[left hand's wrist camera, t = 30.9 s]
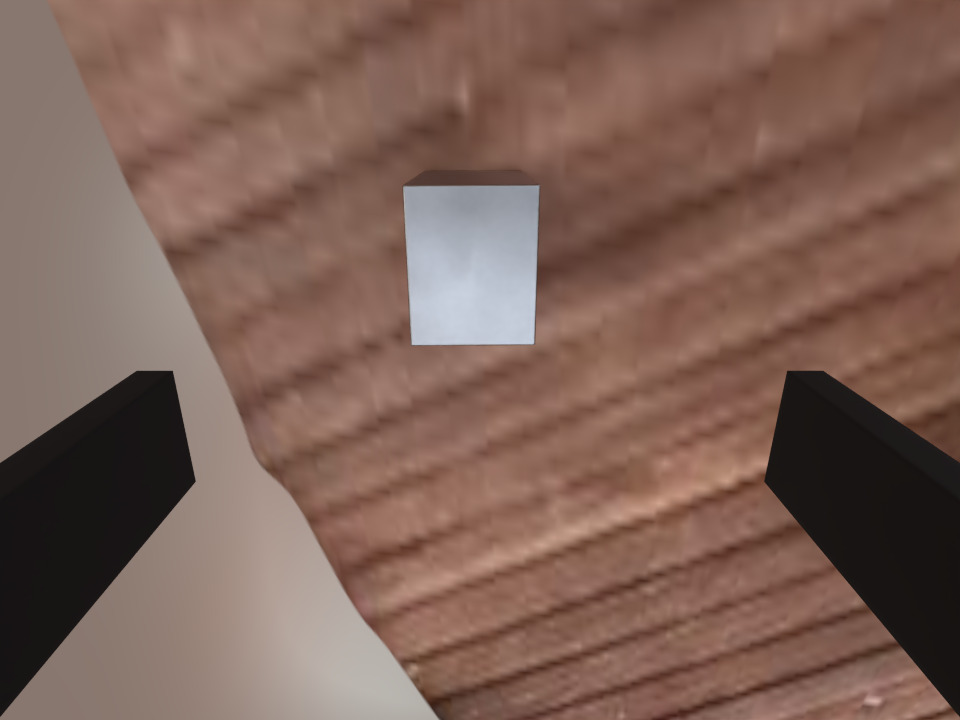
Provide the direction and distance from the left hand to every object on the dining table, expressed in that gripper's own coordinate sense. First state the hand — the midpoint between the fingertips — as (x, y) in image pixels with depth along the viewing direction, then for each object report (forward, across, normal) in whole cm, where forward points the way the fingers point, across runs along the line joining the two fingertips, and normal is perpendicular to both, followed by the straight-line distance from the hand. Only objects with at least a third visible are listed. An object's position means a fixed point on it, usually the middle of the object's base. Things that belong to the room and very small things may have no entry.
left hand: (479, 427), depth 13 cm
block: (+27, 0, 0) cm, 27 cm away
